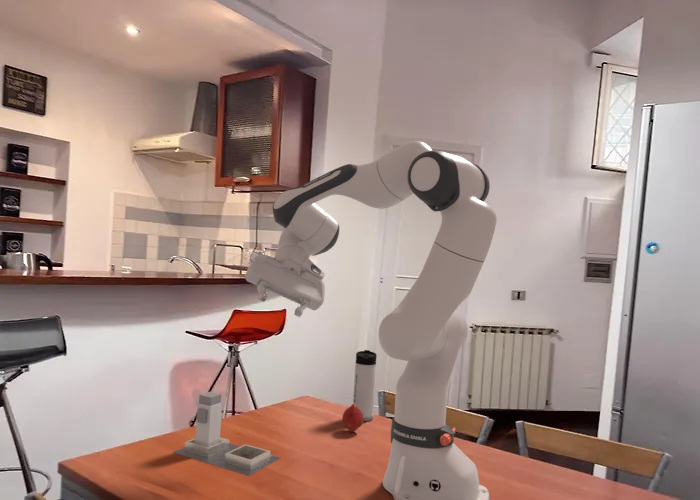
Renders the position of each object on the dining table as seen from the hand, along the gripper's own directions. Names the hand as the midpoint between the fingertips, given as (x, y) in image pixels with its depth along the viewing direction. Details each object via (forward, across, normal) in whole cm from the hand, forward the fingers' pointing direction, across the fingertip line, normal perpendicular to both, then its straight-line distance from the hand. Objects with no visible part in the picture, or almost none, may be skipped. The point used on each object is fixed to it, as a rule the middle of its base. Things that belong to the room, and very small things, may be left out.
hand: (280, 307), depth 126 cm
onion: (+8, +37, +28) cm, 46 cm away
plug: (+24, -1, +29) cm, 38 cm away
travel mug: (-2, +43, +34) cm, 55 cm away
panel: (+26, +4, +26) cm, 37 cm away
